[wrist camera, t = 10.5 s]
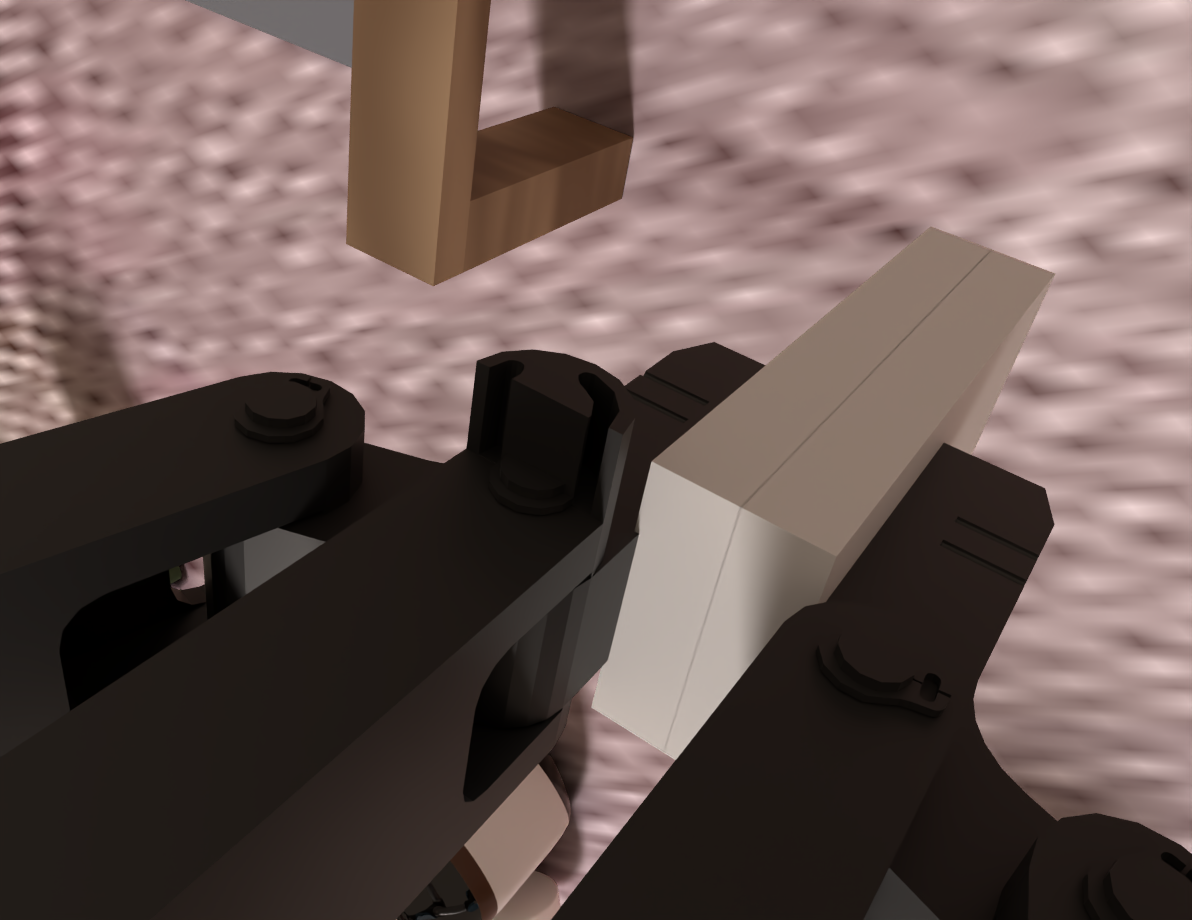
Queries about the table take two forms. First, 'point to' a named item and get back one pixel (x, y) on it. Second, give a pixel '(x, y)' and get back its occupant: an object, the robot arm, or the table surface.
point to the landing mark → (296, 22)
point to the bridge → (457, 147)
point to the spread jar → (504, 859)
